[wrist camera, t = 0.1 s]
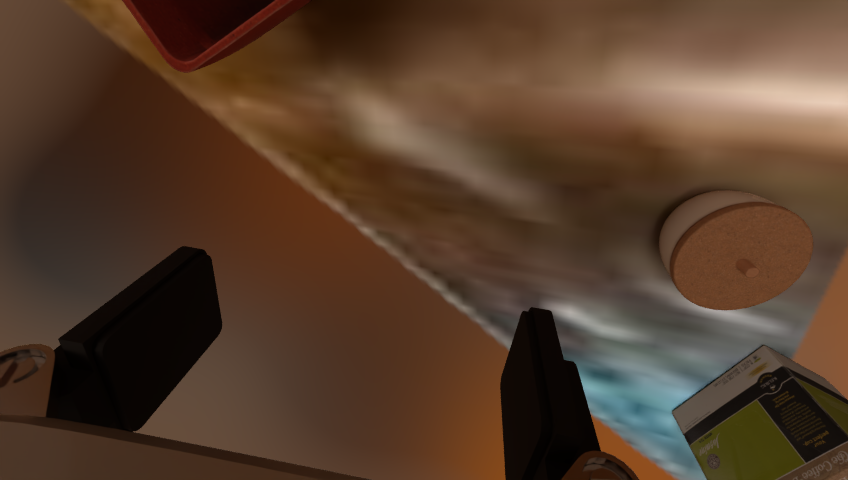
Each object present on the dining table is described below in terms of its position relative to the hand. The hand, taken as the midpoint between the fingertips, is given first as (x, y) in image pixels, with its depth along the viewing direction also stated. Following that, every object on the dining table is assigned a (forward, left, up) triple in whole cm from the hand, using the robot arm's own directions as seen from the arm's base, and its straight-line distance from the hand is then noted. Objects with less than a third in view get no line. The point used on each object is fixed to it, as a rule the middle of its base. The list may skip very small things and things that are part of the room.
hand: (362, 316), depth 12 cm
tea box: (+29, +44, -32) cm, 61 cm away
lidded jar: (+7, +28, -32) cm, 43 cm away
